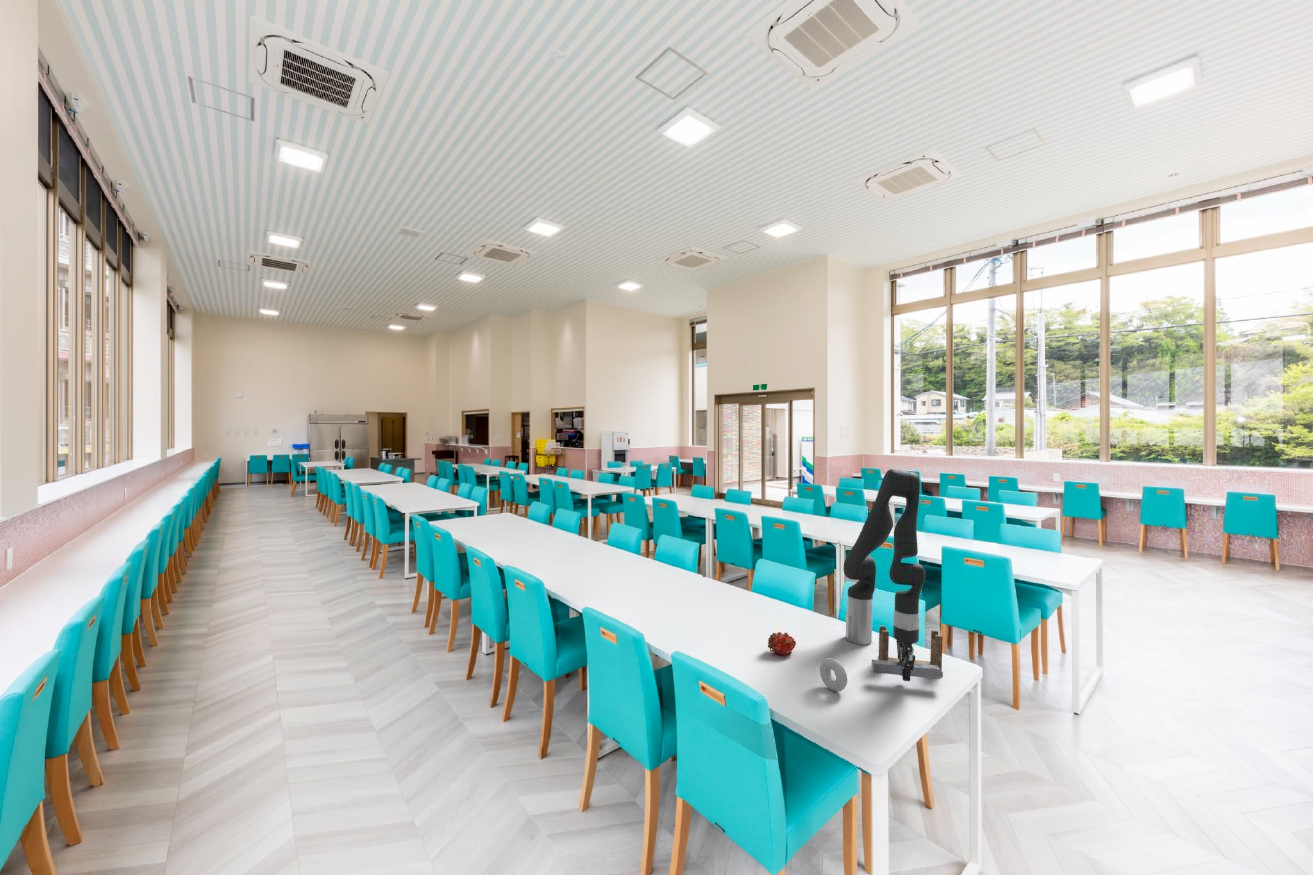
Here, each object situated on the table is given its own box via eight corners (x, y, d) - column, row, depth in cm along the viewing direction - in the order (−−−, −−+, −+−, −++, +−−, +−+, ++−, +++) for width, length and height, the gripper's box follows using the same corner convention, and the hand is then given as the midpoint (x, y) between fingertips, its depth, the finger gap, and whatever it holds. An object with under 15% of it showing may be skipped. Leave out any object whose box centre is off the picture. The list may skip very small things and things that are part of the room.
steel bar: (873, 672, 173) (873, 663, 173) (871, 668, 176) (871, 659, 176) (940, 678, 170) (940, 669, 169) (937, 674, 172) (937, 665, 172)
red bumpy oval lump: (764, 658, 195) (792, 659, 199) (776, 652, 188) (805, 653, 192) (760, 634, 200) (787, 636, 204) (772, 628, 193) (800, 629, 197)
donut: (816, 684, 172) (817, 653, 172) (824, 682, 174) (825, 651, 174) (841, 698, 164) (842, 666, 164) (849, 695, 165) (850, 663, 165)
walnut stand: (882, 670, 184) (883, 632, 184) (877, 660, 192) (878, 624, 191) (942, 676, 180) (943, 637, 180) (935, 666, 188) (936, 629, 188)
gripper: (888, 616, 180) (887, 667, 181) (899, 631, 167) (897, 686, 167) (912, 618, 179) (911, 669, 179) (925, 633, 165) (923, 689, 165)
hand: (904, 677), depth 173 cm, fingers closed on steel bar, 3 cm apart
